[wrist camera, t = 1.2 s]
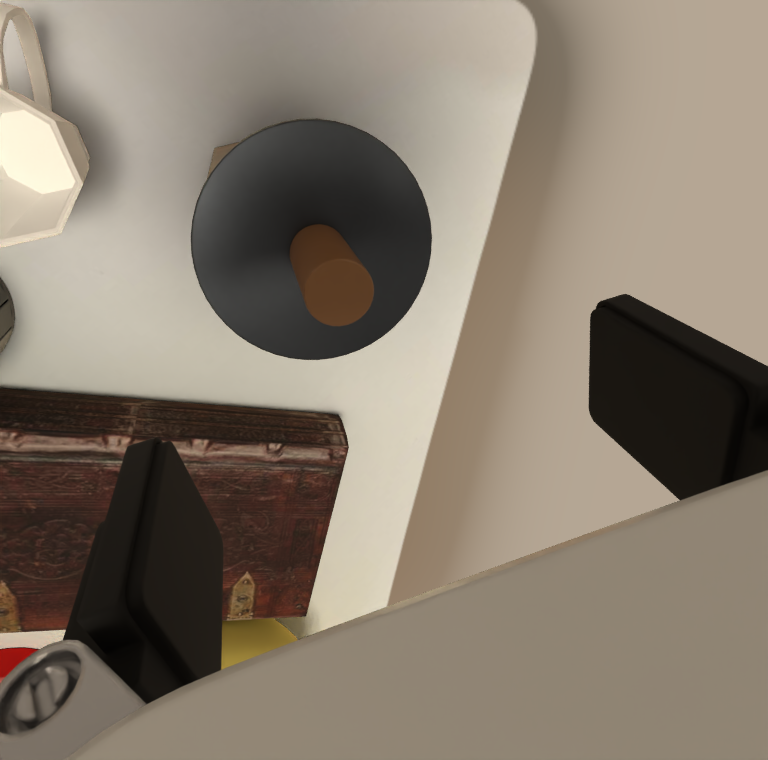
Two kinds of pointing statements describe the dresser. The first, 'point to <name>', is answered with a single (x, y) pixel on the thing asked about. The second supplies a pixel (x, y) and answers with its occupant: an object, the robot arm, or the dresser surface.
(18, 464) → the book
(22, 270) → the dresser surface
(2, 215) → the cup
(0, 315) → the dark grey slatted bucket
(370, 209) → the lid
